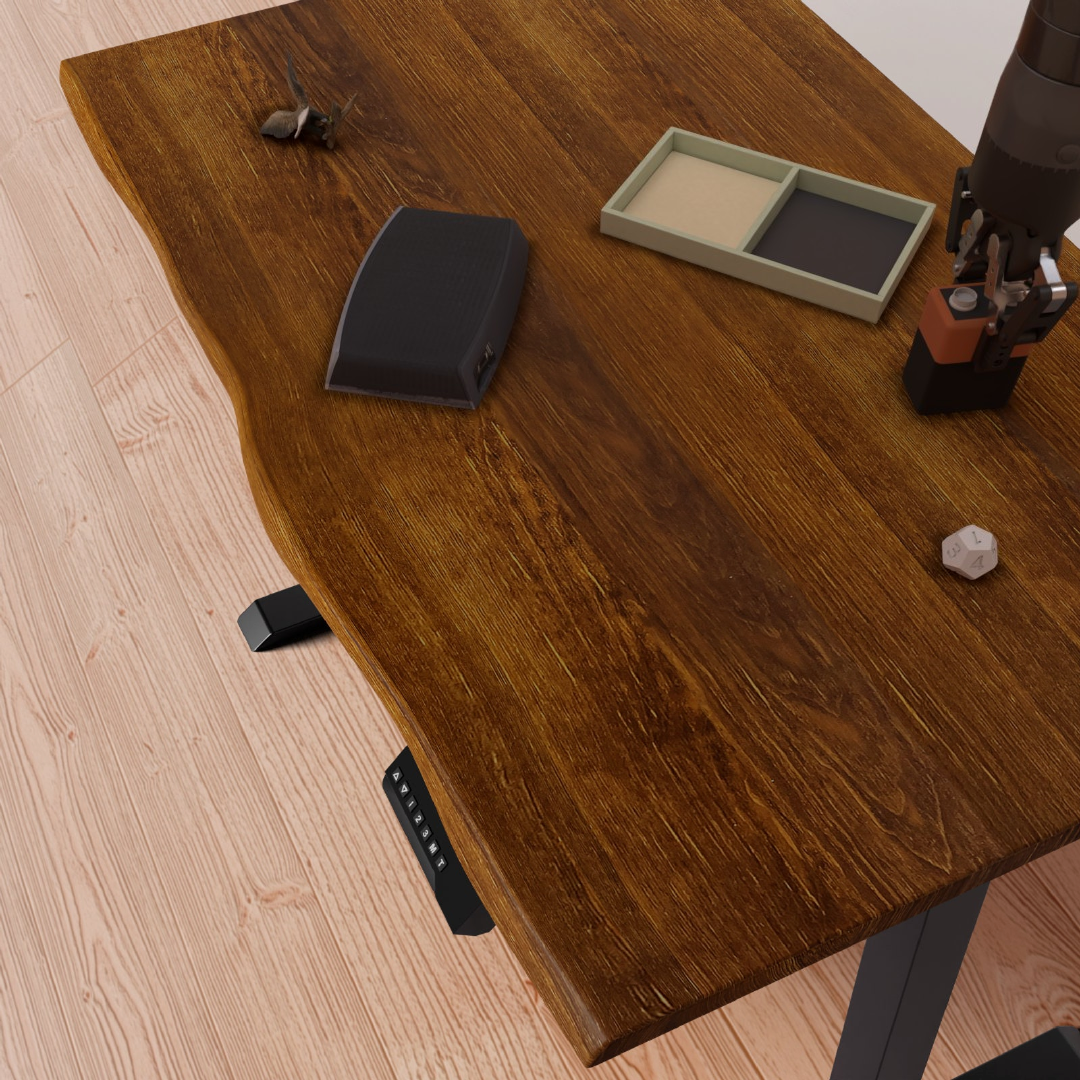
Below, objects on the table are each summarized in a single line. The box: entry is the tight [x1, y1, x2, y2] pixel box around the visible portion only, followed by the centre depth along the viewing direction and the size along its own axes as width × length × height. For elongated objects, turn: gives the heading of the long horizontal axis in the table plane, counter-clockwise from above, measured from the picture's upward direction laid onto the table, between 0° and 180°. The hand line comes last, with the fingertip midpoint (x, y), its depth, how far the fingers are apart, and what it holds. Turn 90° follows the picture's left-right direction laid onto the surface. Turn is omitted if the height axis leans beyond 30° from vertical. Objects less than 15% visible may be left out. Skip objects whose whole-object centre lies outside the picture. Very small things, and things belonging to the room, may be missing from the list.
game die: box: [941, 523, 999, 581], centre depth 75 cm, size 4×4×3 cm
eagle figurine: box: [258, 50, 359, 150], centre depth 105 cm, size 8×7×9 cm
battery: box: [901, 280, 1035, 417], centre depth 82 cm, size 4×7×10 cm, turn 97°
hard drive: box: [324, 205, 530, 411], centre depth 90 cm, size 13×19×4 cm
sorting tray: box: [599, 126, 937, 325], centre depth 96 cm, size 24×14×3 cm, turn 61°
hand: (971, 342), depth 82 cm, fingers closed on battery, 4 cm apart
